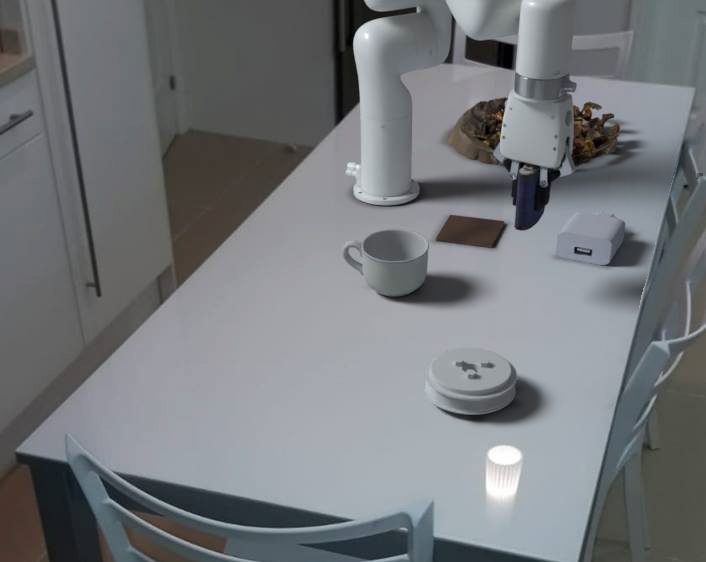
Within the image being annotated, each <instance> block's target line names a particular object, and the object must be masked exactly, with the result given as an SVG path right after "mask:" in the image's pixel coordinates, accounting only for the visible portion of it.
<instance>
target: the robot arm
mask: <svg viewBox="0 0 706 562" xmlns="http://www.w3.org/2000/svg"><path fill="white" fill-rule="evenodd" d="M363 1H364V3H365V4H366V6H367V7H368V8H369V9H370V10H372V11H375V12H390V11H398V10H399V11H400V10H405V9H411V8H416V12H411V13H406V14H397V15H393V16H392V15H391V16H386V17H380V18H379V17H378V18H376V19H371V20H369V21H367V22H365V23H363V24H362V25H360V27H359V28H358V29H357V30H356V32H355V34H354V37H353V42H352V47H353V48H352V49H353V56H354V62H355V67H356V73H357V80H358V91H359V117H360V118H359V120H360V121H359V122H360V124H359V125H360V163H358V162H356V161H355V162H354V161H349V162H347V165H346V170H345V176H347V177H350V178H354V179H355V180H356V182H355V183H354V185H353V188H352V189H353V196H354V197H355V198H356V199H357V200H359V201H361V202H363V203H366V204H369V205H376V206H397V205H403V204H406V203H408V202H411V201H413V200H415V199H416V198H418V196H419V195H420V184H419V183H418V182H417V181H416V180H415V179H414V178H412V175H413V174H412V172H413V171H412V169H413V168H412V166H413V164H412V163H413V162H412V161H413V97H412V94H411V92H410V90H409V89H408V87H407V86H406V85H405V84H404V82H403V81H402V78H401V76H402V75H404V74H408V73H411V72H416V71H417V72H418V71H422V70H427V69H432V68H436V67H438V66H440V65H442V64H443V63H445V61H446V60H447V58H448V56H449V53H450V49H451V41H452V24H453V23H452V22H453V21H452V20H453V18H454V20H455V22H456V23H457V25H458V27H459V28H460V29H461V31H462V32H463V34H464V35H466V36H467V37H468V38H470V39H472V40H475V41H489V40H494V39H498V38H499V39H500V38H505V37H509V36H517V47H516V58H515V71H514V72H515V73H514V82H513V83H514V84H513V86H514V87H513V88H512V89H511V90H510V91H509V94H508V97H507V98H508V99H507V100H506V103H505V112H504V117H503V123H502V129H501V137H500V142H499V144H498V146H497V147H496V149H495V150H494V152H493V155H494V157H495V158H497V159H498V160H499V161H500V162H501V163H503V165H504V166H503V167H504V168H505V169H506V171H507V172H508V173H509V179H510V180H511V181H512V183H511V193H510V194H511V198H512V206H515V207H516V199H517V184H518V172H519V170H520V169H521V168H523V167H524V166H526V163H528V164H533V165H537V166H540V181H539V185H537V186H536V191H535V201H534V210H535V211H540V210H541V209H542V208H543V207H544V206H545V207H546V206H547V205H548V204H549V202H550V199H551V197H550V196H551V188H552V183H553V182H554V181H556V180H557V179H558V178H561V177H562V178H563V177H565V176H569V175H571V174H573V173H574V172H575V171H576V164H575V165H574V162H573V159H572V156H571V155H572V149H573V135H574V112H573V106H574V101H573V95H572V94H571V93H575V92H576V90H577V86H578V84H577V82H576V81H572V80H571V73H570V66H571V59H572V57H571V56H572V49H573V40H574V39H573V38H574V31H575V30H574V29H575V21H576V13H577V11H576V10H577V2H576V0H363ZM561 163H562V166H560V164H561Z"/></svg>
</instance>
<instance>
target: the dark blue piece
mask: <svg viewBox="0 0 706 562" xmlns="http://www.w3.org/2000/svg"><path fill="white" fill-rule="evenodd" d="M539 181H540V166H537V165H533V164H528V165H526V166H524V167H523V168H521V169H520V170H519V172H518V184H517V199H516V206H515V215H514V216H515V217H514V225H513V227H514V229H515V230H517V231H519V232H520V231H521V232H522V231H523V232H524V231H528V230H530V229H531V228H533V227H534V226H536V224H538V223H539V221H540V220H541V218H542V216H543V215H544V213H545V209H546V206H544V207H543V208H542V209H541V210H540V211H535V210H534V201H535V191H536V186H537V185H539Z"/></svg>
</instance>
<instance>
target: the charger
mask: <svg viewBox="0 0 706 562" xmlns="http://www.w3.org/2000/svg"><path fill="white" fill-rule="evenodd" d="M625 231H626V222H625V221H624V220H623V219H621V218H618V217H617V216H615V214H614V213H607V212H603V211H597V212H593V213H588V212H584V211H583V212H582V211H577V212H574V213H573V214H572V216H570V218H569V219H568V221H567V222H566V223H565V225H564V226H563V227H562V228H561V230H560V231H559V233H557V239H556V248H555V254H556V255H557V256H558V257H560V258H562V259H567V260H570V261H571V260H572V261H577V262H582V263H587V264H593V265H598V266H606V265H608V264H610V263H611V262H612V260H613V258H614V256H615V254H616V253H617V251H618V250H619V248H620V247H621V245H622V244H623V243H624V238H625Z"/></svg>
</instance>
